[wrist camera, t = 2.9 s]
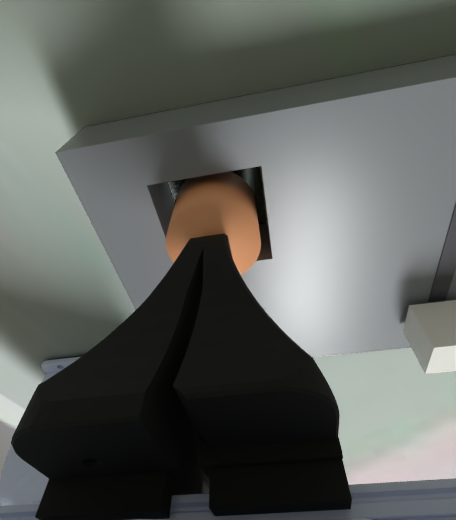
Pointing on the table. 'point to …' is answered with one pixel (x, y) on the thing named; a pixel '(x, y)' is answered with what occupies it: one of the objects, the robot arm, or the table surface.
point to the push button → (216, 216)
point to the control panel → (299, 197)
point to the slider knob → (433, 335)
